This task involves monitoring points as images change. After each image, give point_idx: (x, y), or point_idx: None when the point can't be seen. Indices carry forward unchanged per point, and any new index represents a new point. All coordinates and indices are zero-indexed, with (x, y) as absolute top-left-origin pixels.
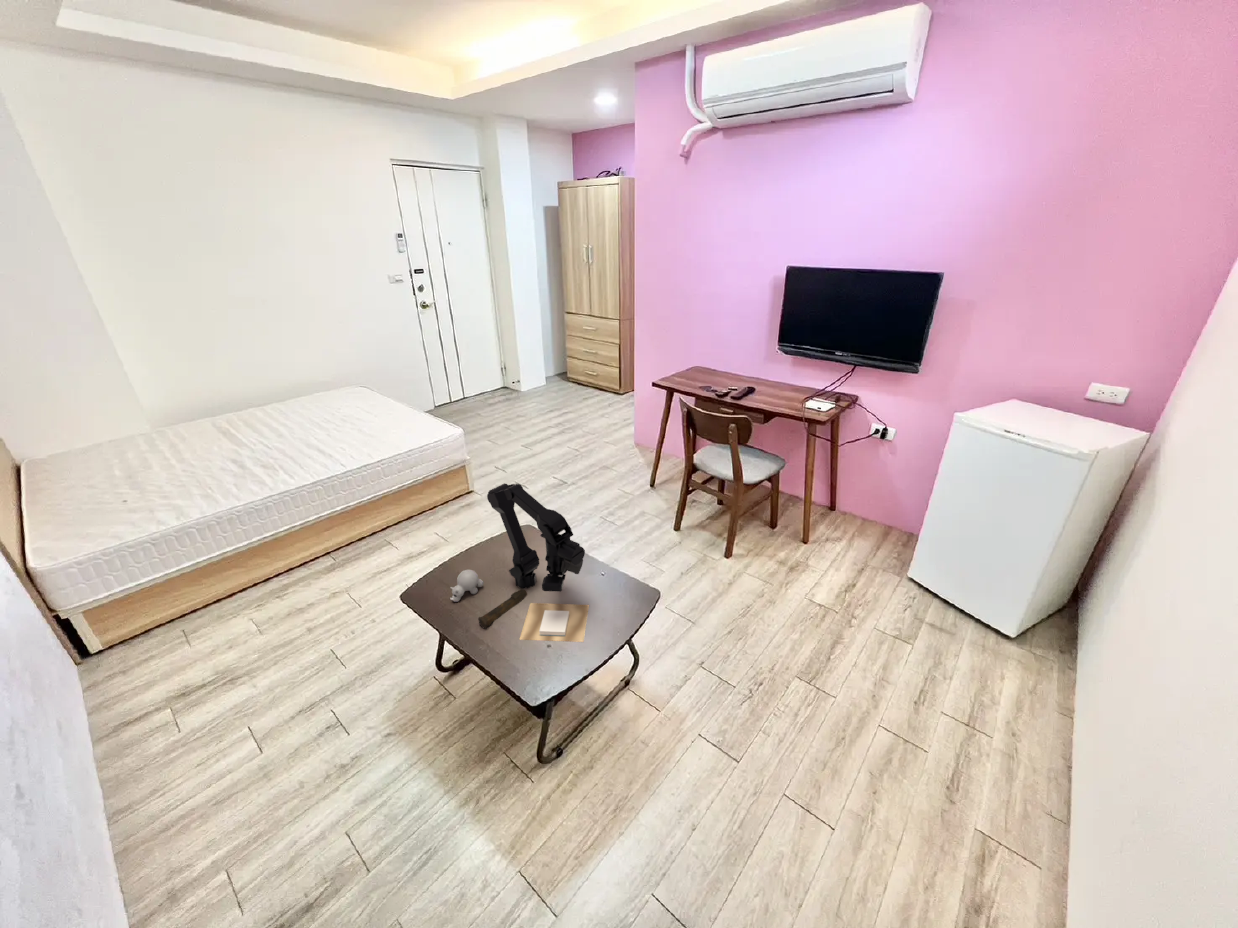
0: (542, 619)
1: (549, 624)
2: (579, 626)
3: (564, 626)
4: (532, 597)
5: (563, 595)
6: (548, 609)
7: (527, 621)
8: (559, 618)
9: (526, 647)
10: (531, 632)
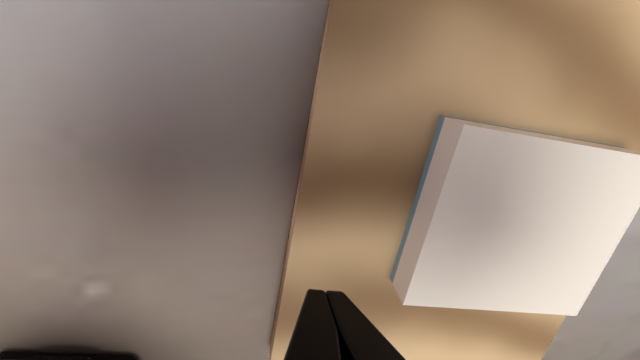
0: (486, 309)
1: (548, 264)
2: (583, 33)
3: (614, 162)
4: (193, 346)
5: (168, 155)
6: (346, 262)
7: (422, 357)
8: (518, 201)
9: (561, 325)
10: (510, 330)
